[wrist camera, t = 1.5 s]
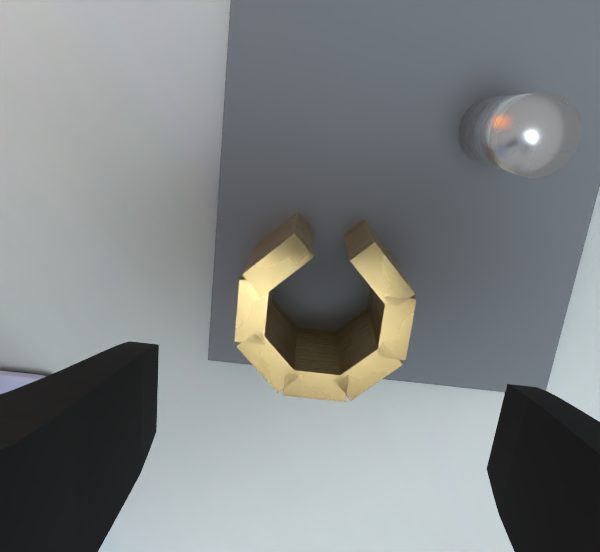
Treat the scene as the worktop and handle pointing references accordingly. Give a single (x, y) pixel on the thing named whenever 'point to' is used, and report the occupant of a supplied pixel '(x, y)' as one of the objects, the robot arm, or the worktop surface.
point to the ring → (315, 342)
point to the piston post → (521, 133)
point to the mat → (408, 172)
